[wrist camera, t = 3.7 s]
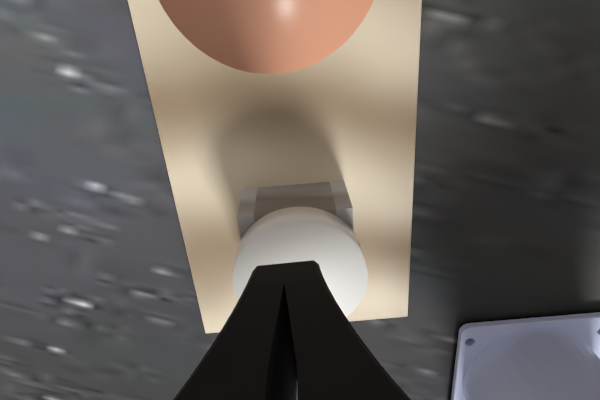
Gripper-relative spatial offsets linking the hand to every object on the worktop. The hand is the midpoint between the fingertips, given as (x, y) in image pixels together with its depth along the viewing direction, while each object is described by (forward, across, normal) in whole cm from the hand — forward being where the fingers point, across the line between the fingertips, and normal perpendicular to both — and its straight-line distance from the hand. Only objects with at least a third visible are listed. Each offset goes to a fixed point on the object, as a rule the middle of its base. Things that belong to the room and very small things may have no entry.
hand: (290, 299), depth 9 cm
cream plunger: (+9, 0, +3) cm, 9 cm away
